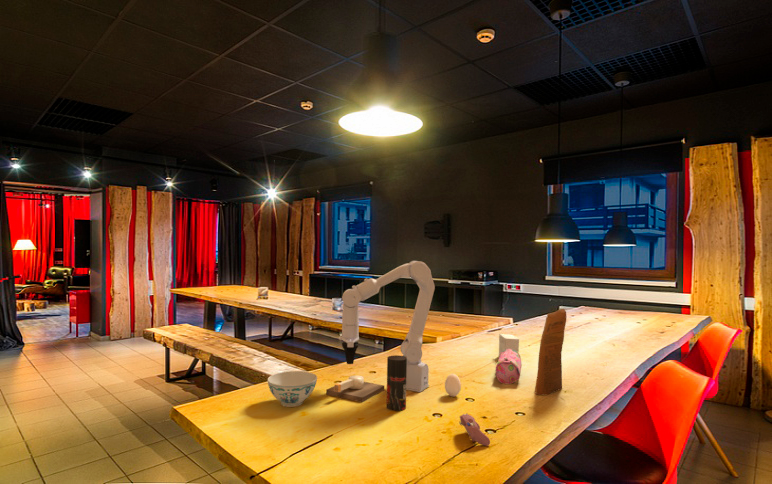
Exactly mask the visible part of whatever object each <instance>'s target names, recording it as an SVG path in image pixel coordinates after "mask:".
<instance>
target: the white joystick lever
mask: <svg viewBox="0 0 772 484" xmlns="http://www.w3.org/2000/svg"><path fill="white" fill-rule="evenodd" d="M364 382H365V380H364V376H362V375H350V376H348V379H346V380H344V381H340V382H339V383H334V386H335V387H334V391H336V392H340V391H342V390H344V389H347V388H351V389H361V388H363V383H364Z"/></svg>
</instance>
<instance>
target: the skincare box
mask: <svg viewBox="0 0 772 484" xmlns="http://www.w3.org/2000/svg"><path fill="white" fill-rule="evenodd" d="M498 341H499V342H498V356H499V355H500V353H501V352H502V351H504V350H507V349H512V350H515V351H517V352H518V353H519V350H520V349H519V347H520V339H519V338H518V337H516V336H515V335H514V334H510V333H509V334H508V333H507V334H506V333H504V334H503V333H499V335H498ZM519 354H520V353H519Z"/></svg>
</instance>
